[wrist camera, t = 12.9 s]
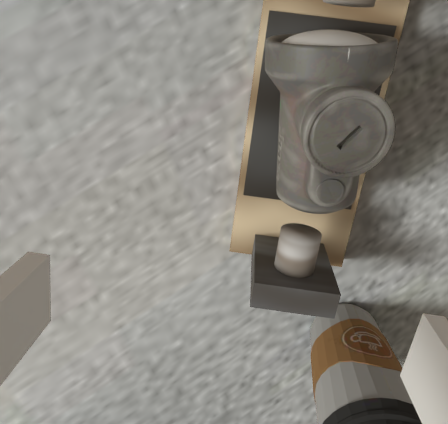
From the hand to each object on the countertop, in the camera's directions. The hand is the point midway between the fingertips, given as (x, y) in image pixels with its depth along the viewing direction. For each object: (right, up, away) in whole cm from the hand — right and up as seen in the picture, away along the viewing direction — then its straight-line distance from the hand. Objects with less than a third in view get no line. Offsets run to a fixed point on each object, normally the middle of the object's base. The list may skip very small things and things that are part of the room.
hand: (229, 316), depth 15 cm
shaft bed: (+7, +12, +19) cm, 23 cm away
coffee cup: (+11, -8, +26) cm, 30 cm away
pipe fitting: (+7, +11, +17) cm, 22 cm away
